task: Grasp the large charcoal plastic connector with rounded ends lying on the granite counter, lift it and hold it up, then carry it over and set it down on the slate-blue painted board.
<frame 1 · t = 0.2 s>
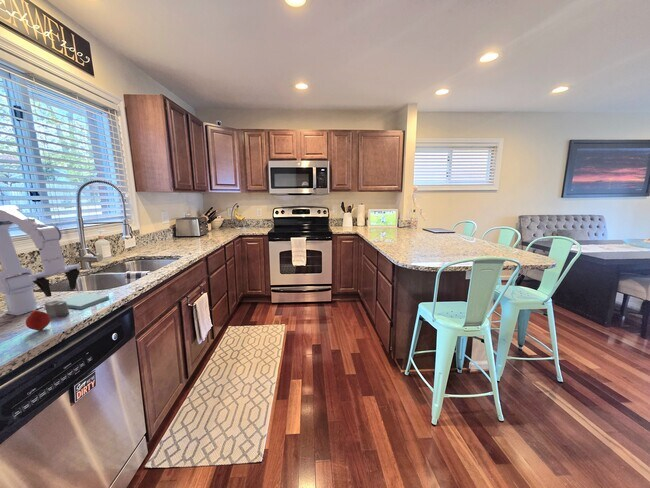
hand: (61, 292, 102), 10 cm above the countertop, tool pointing down, fingers open, 7 cm apart
board: (82, 302, 117), on the countertop
onion: (41, 330, 93), on the countertop
connector: (58, 314, 105), on the countertop
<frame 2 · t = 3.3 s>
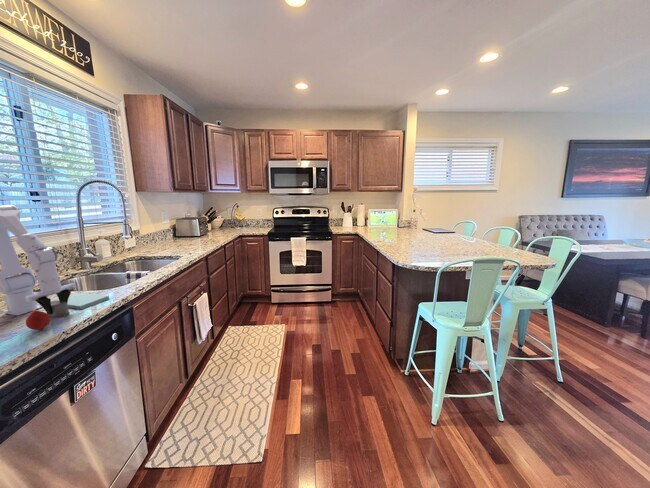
hand: (57, 311, 105), 1 cm above the countertop, tool pointing down, fingers closed on connector, 4 cm apart
connector: (58, 314, 105), on the countertop, touching gripper
everything else where it was.
when the fingers open (4 cm above the countertop, at t = 9.6 s): connector drops 1 cm, resting on board.
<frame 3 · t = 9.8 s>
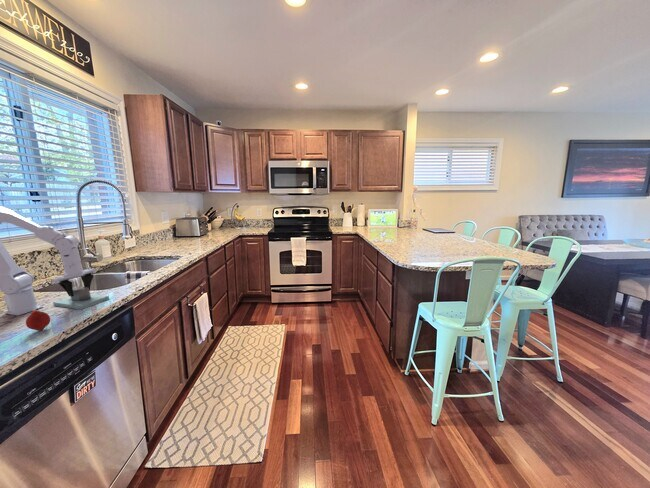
hand: (79, 293, 116), 4 cm above the countertop, tool pointing down, fingers open, 6 cm apart
connector: (81, 298, 117), point 1 cm above the countertop, touching board
everything else where it was.
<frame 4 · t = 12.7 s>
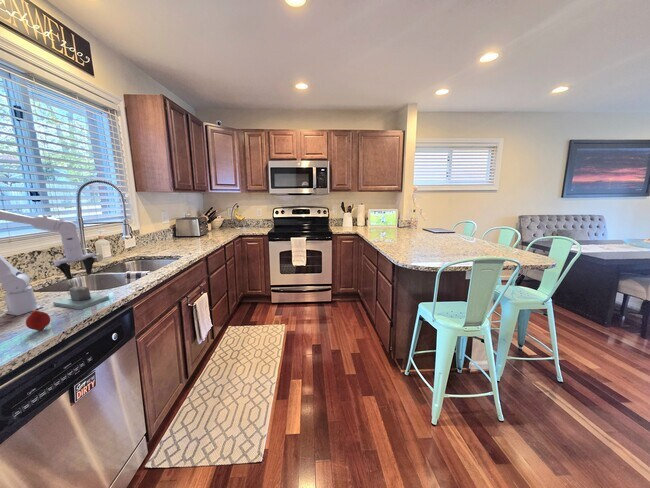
hand: (79, 276, 120), 10 cm above the countertop, tool pointing down, fingers open, 7 cm apart
nothing on the countertop moved.
at the end: connector inside the target area on the board (0.1 cm from its centre), point 1.5 cm above the board's base; the gripper is holding nothing; connector tilted 0° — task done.
